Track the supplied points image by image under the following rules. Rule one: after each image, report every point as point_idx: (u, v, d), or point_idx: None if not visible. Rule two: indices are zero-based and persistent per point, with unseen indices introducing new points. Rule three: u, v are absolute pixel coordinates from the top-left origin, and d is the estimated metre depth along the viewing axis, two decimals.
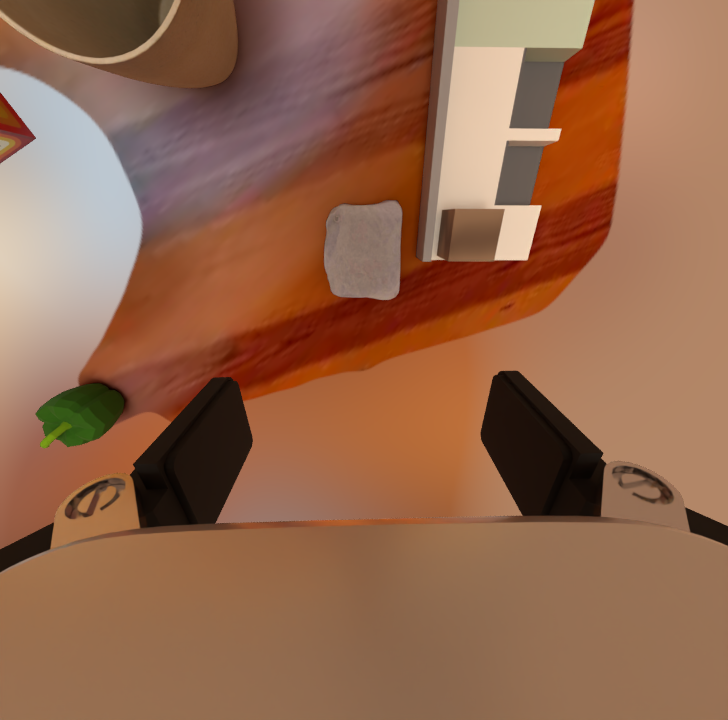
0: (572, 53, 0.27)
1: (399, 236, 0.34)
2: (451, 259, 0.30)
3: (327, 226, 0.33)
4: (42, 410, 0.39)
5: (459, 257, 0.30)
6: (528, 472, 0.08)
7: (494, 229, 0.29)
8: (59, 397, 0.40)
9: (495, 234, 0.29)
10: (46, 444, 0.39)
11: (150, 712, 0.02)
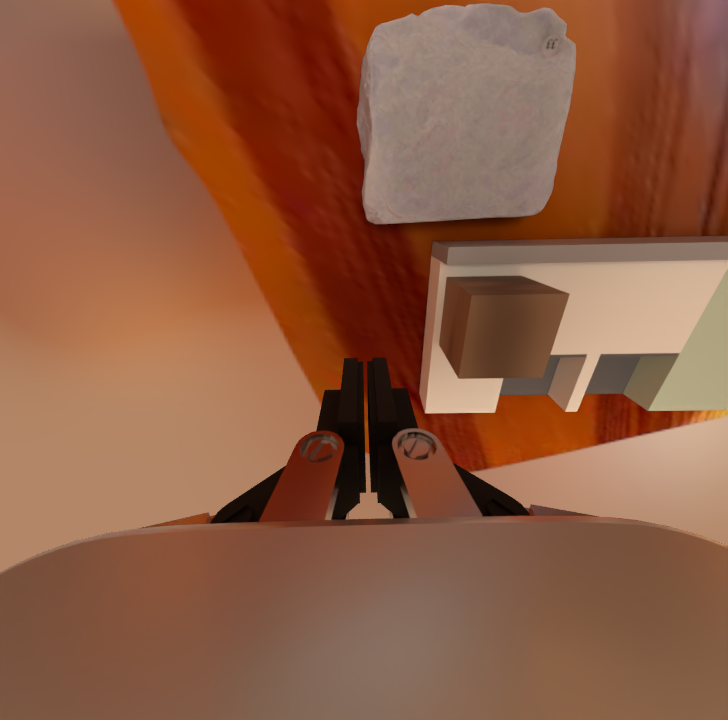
0: (639, 401, 0.24)
1: (489, 214, 0.17)
2: (474, 301, 0.14)
3: (539, 12, 0.14)
4: None
5: (475, 316, 0.15)
6: None
7: (513, 369, 0.16)
8: None
9: (504, 372, 0.16)
10: None
11: (150, 712, 0.02)
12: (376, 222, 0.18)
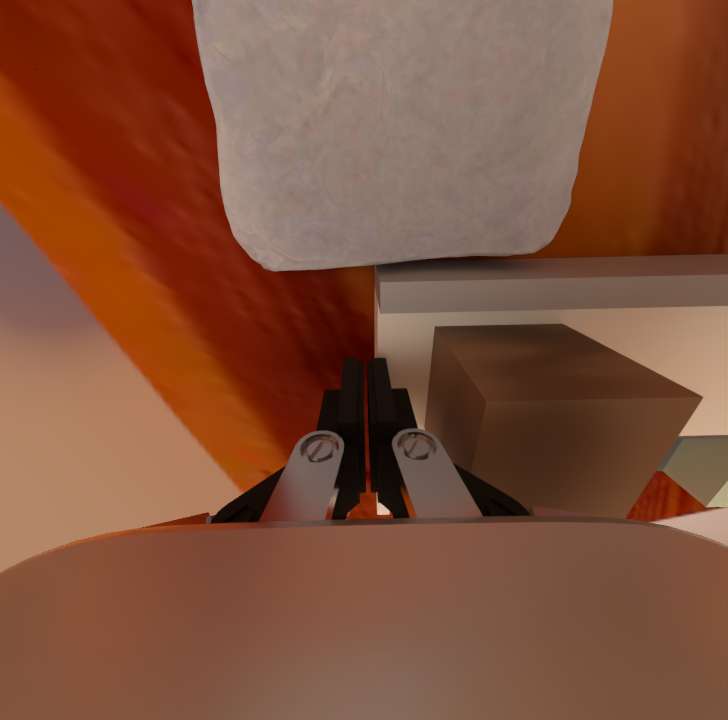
0: (690, 489, 0.17)
1: (458, 252, 0.10)
2: (492, 413, 0.07)
3: None
4: None
5: (493, 438, 0.07)
6: None
7: None
8: None
9: None
10: None
11: (150, 712, 0.02)
12: (264, 267, 0.10)
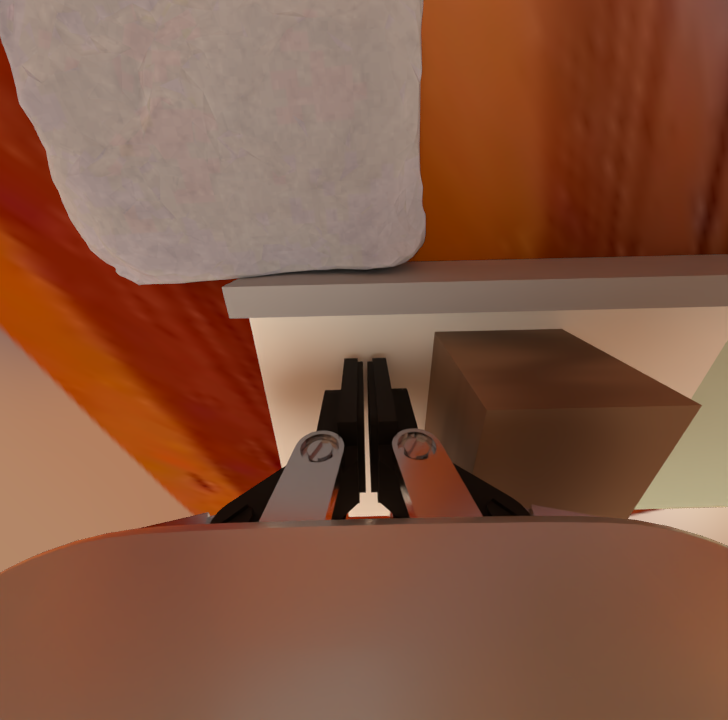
0: None
1: (321, 265, 0.10)
2: (492, 422, 0.07)
3: None
4: None
5: (494, 446, 0.07)
6: None
7: None
8: None
9: None
10: None
11: (150, 712, 0.02)
12: None
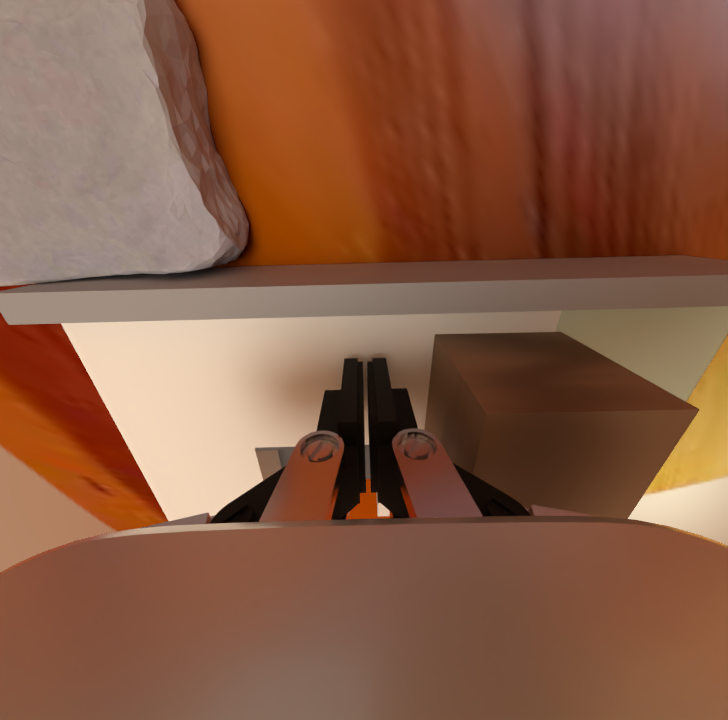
0: None
1: (121, 270, 0.10)
2: (491, 425, 0.07)
3: None
4: None
5: (493, 449, 0.07)
6: None
7: None
8: None
9: None
10: None
11: (150, 712, 0.02)
12: None
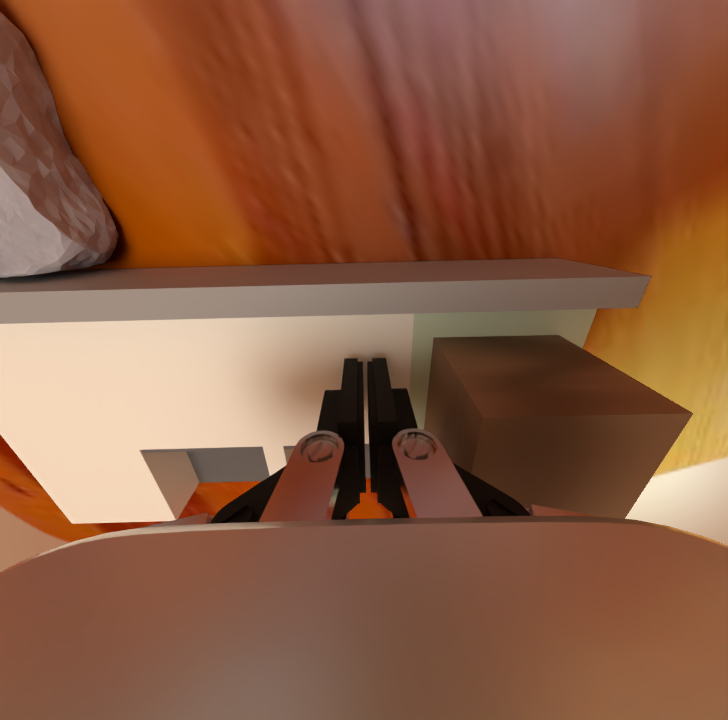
0: None
1: None
2: (489, 429, 0.07)
3: None
4: None
5: (490, 452, 0.07)
6: None
7: None
8: None
9: None
10: None
11: (150, 712, 0.02)
12: None
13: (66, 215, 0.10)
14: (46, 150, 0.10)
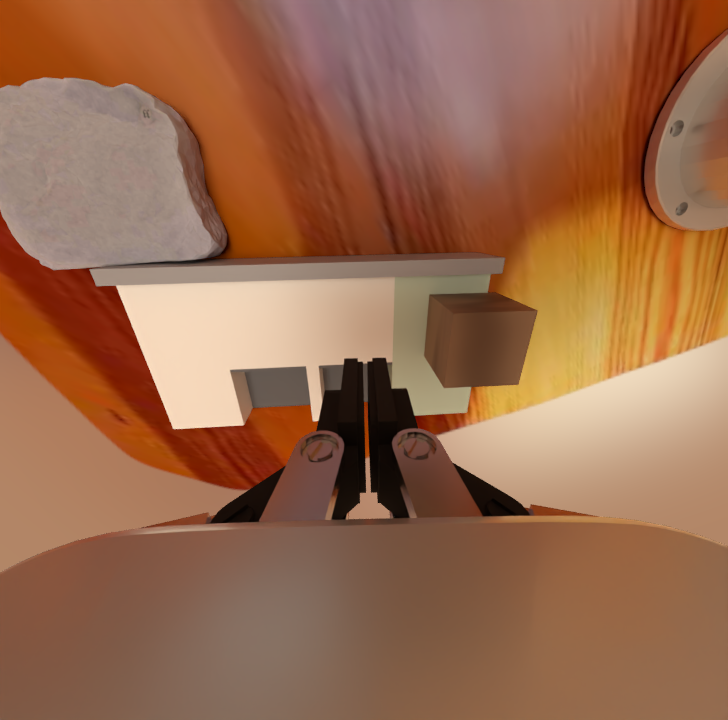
0: None
1: (157, 259, 0.18)
2: (456, 319, 0.16)
3: (123, 87, 0.15)
4: None
5: (457, 331, 0.16)
6: None
7: (492, 378, 0.18)
8: None
9: (485, 380, 0.18)
10: None
11: (150, 712, 0.02)
12: None
13: (211, 228, 0.19)
14: (203, 195, 0.18)
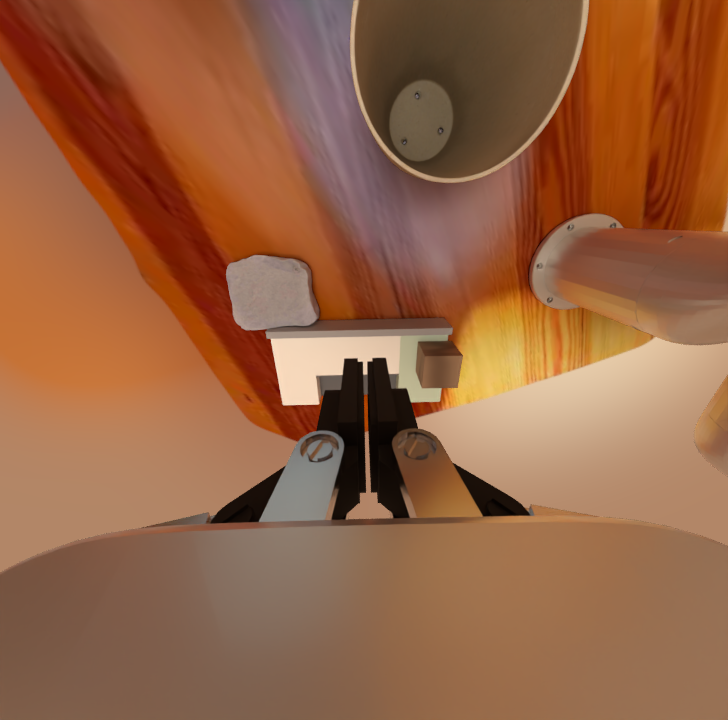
0: None
1: (291, 324, 0.40)
2: (426, 358, 0.37)
3: (288, 260, 0.36)
4: None
5: (427, 363, 0.37)
6: None
7: (444, 384, 0.39)
8: None
9: (441, 385, 0.39)
10: None
11: (150, 712, 0.02)
12: None
13: (315, 310, 0.40)
14: (312, 295, 0.40)
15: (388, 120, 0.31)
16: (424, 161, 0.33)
